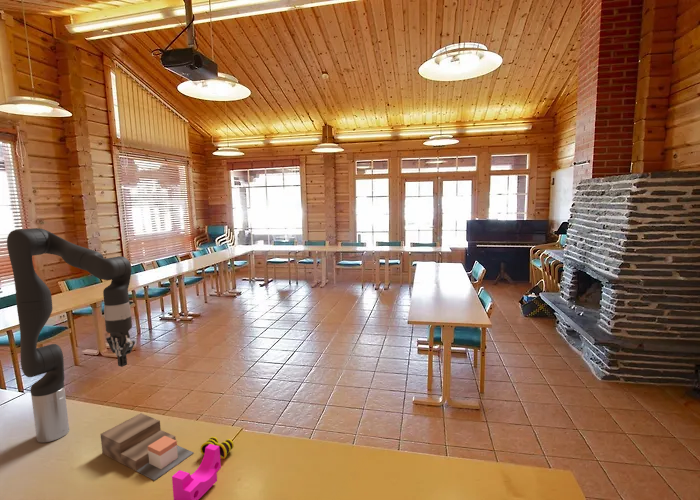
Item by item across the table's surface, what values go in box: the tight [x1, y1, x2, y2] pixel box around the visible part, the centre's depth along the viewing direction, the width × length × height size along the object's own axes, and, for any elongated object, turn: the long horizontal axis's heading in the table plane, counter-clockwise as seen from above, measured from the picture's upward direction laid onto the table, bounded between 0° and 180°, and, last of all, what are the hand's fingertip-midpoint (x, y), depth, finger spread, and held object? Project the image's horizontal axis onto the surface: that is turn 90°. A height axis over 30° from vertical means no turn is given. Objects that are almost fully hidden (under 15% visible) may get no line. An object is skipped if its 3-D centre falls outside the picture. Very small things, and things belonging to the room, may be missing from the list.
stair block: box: [100, 412, 195, 482], centre depth 122 cm, size 28×14×7 cm, turn 62°
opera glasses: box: [199, 436, 234, 460], centre depth 122 cm, size 10×5×5 cm, turn 76°
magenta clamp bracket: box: [171, 444, 222, 500], centre depth 108 cm, size 15×6×8 cm, turn 160°
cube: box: [148, 436, 178, 469], centre depth 118 cm, size 6×6×6 cm
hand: (122, 365), depth 124 cm, fingers closed
